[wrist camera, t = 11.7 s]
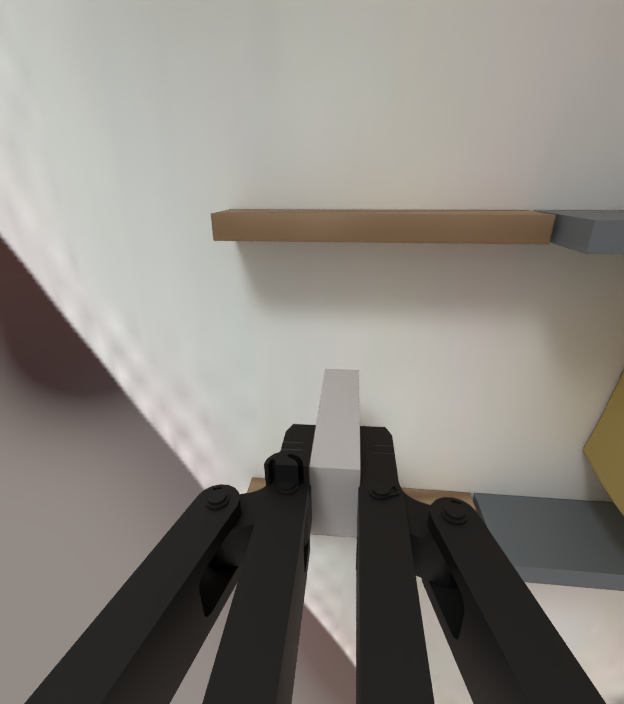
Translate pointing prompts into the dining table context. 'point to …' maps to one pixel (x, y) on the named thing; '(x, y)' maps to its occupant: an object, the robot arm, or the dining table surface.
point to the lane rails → (385, 229)
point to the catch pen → (559, 514)
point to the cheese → (610, 447)
